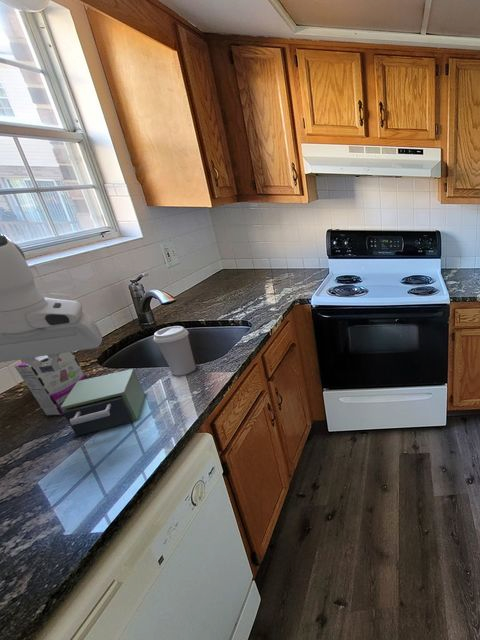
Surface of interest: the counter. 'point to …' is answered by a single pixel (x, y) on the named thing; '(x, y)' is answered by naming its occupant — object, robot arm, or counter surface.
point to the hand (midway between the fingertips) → (49, 370)
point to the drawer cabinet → (108, 391)
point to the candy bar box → (52, 381)
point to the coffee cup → (176, 349)
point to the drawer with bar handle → (98, 415)
